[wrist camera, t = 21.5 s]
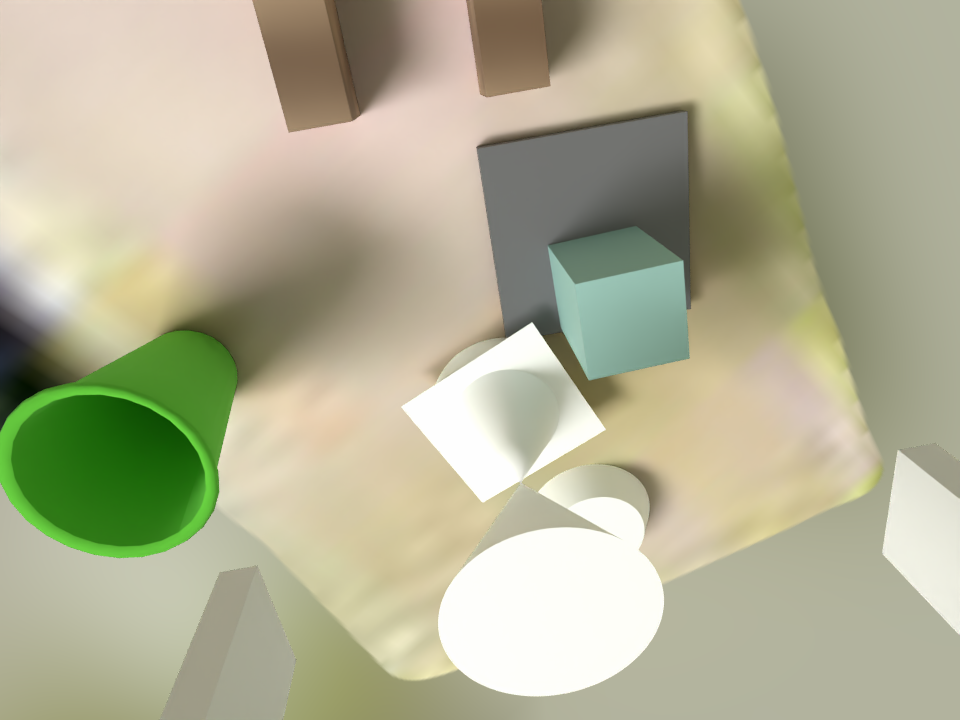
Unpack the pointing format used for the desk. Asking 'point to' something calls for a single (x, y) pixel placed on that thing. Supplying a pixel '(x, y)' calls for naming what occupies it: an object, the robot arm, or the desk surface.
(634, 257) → the teal block
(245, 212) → the desk surface
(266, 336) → the desk surface
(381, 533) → the desk surface
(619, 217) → the rubber mat
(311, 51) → the parallel wooden bars
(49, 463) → the cup
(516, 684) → the hourglass
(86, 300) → the desk surface
